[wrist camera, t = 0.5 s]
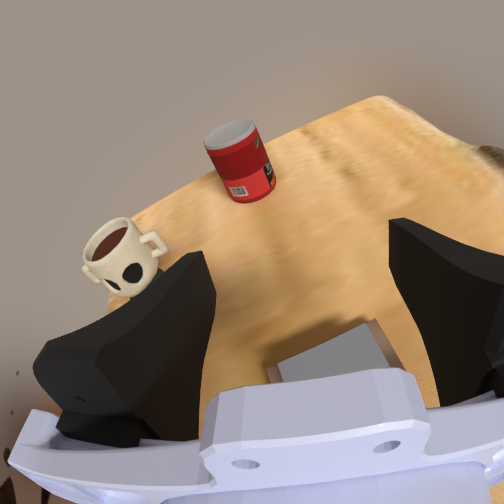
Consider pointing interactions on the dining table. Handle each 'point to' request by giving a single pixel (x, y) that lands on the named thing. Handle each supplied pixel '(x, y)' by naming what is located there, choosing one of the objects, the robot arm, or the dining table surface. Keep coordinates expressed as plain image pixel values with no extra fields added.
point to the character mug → (123, 257)
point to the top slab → (336, 356)
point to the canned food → (241, 160)
